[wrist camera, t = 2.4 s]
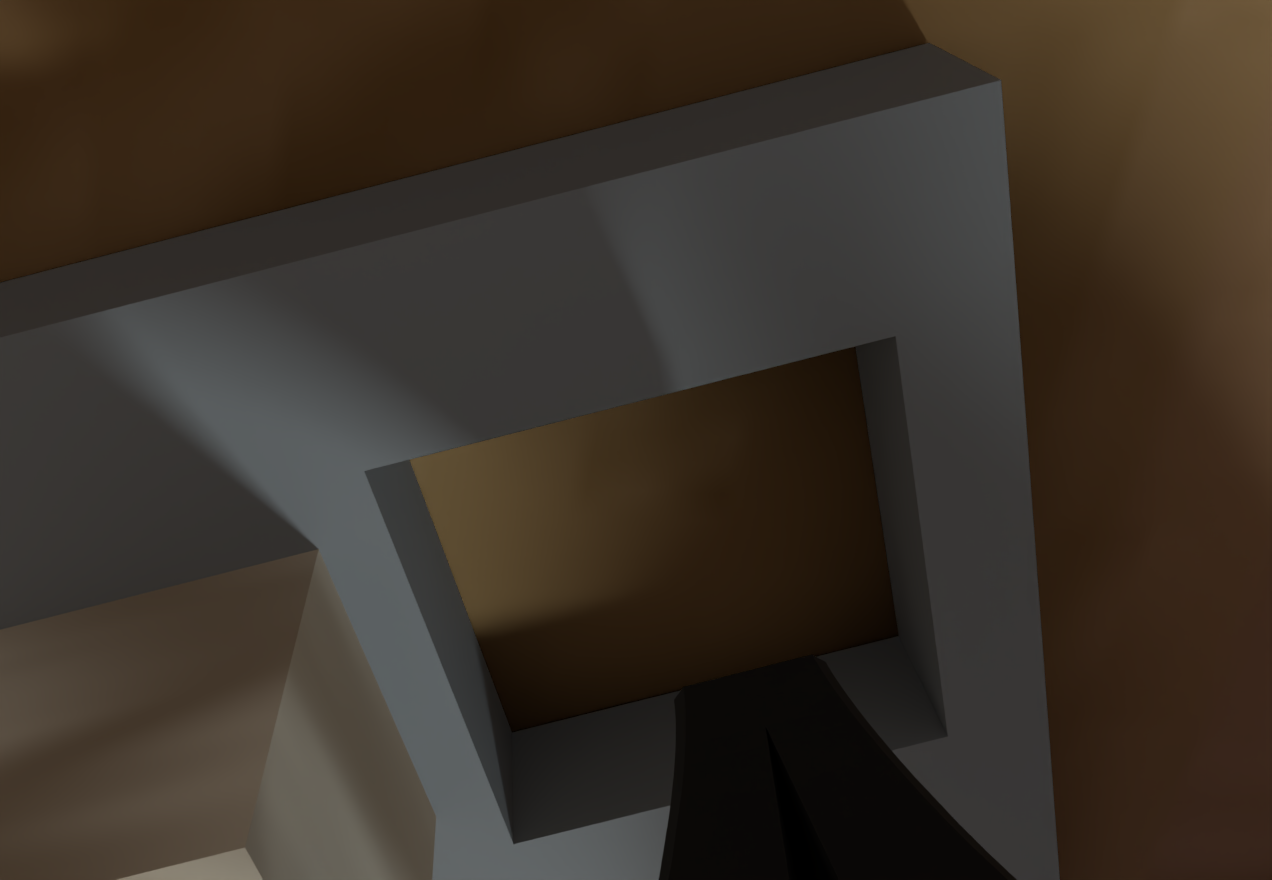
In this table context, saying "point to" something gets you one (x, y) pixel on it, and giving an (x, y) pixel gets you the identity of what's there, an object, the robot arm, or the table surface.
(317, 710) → the block
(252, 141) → the table surface
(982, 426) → the board
